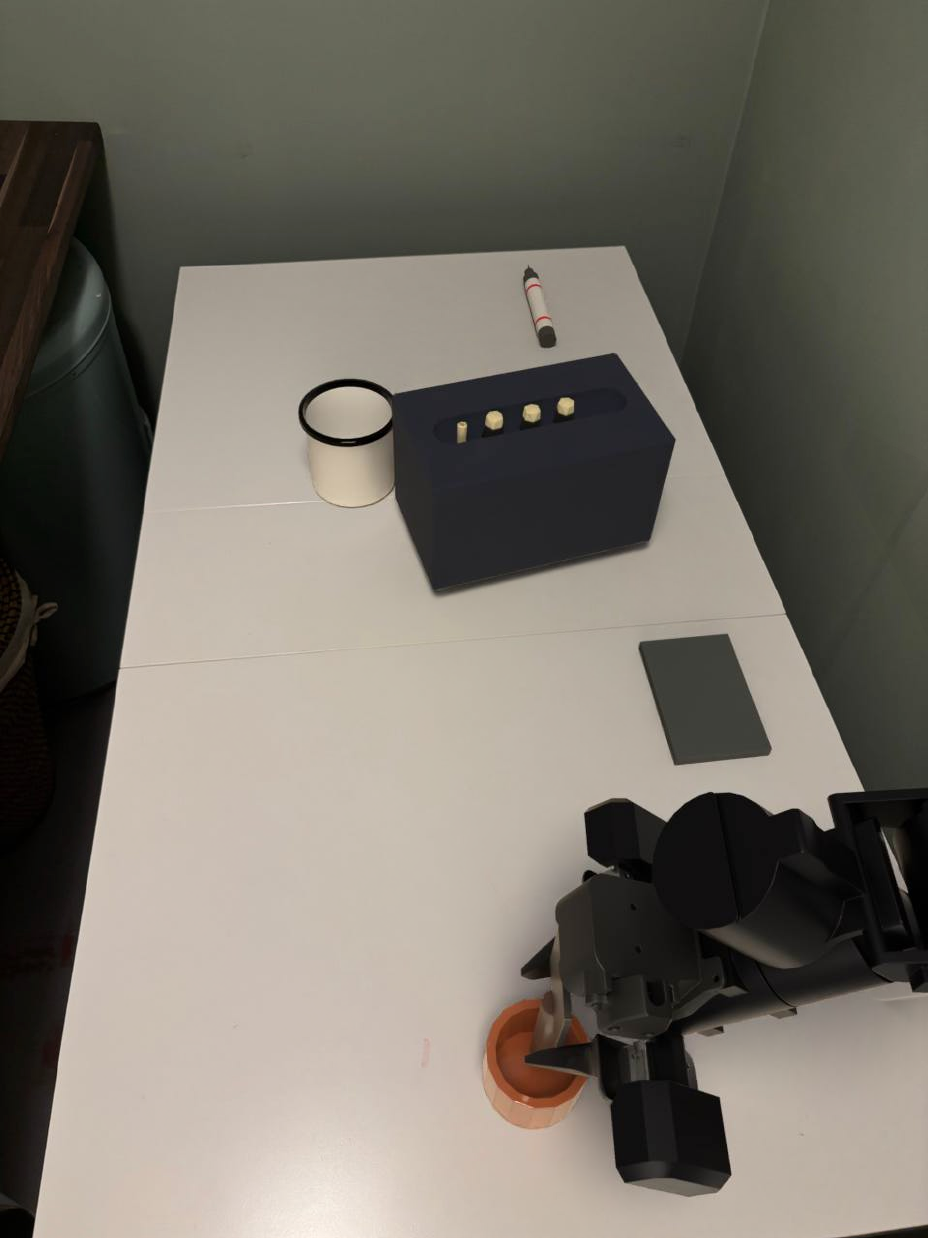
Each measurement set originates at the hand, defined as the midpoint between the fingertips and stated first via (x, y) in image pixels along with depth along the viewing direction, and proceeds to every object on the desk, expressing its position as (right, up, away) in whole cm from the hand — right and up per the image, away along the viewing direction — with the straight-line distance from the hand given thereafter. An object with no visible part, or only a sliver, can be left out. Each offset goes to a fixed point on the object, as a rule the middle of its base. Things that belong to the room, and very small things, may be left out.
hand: (527, 1016), depth 55 cm
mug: (-13, +36, +45) cm, 59 cm away
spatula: (+1, -4, +5) cm, 7 cm away
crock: (+1, -8, +10) cm, 12 cm away
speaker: (+2, +31, +41) cm, 51 cm away
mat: (+17, +15, +29) cm, 37 cm away
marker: (+5, +60, +64) cm, 88 cm away
